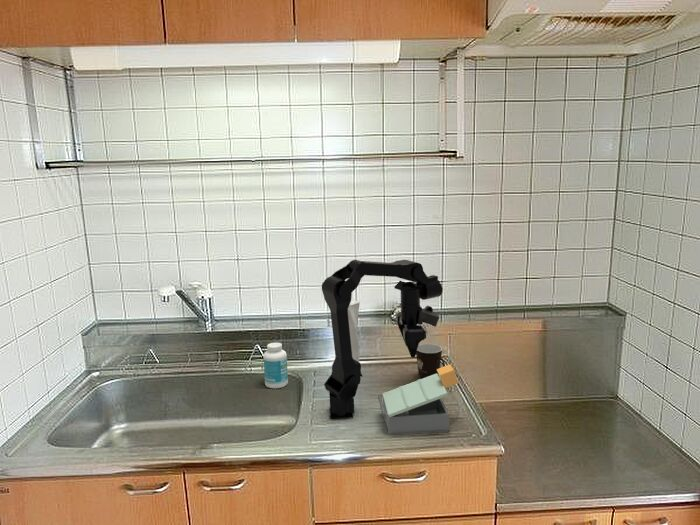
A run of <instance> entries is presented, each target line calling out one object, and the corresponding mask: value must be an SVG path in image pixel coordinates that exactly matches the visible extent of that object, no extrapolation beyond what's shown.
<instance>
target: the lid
mask: <svg viewBox="0 0 700 525" xmlns="http://www.w3.org/2000/svg"><path fill="white" fill-rule="evenodd" d="M437 372H438V374H437V373H436V374H433V375H431V376H428V377H425V378H423V379H420V378H419V379H417V380H416V381H412V382H410V383H407V384H405V385H400V386H399V387H396V388H394V389H391V390H389V391H386V392H382V396H383V397H384V401H385V405H386V409H387V413H388V416H389V417H392V416H395V415H397V414H400V413H403V412H405V411H408V410H411V409H413V408H416V407H419V406H421V405H424V404H427V403H429V402H432V401H435V400H438V399H440V398H441V399H443V398H445V397H448V396H449V394H448V391H447V388H450V387H452V386H455V385H457V384H459V381H458V378H457V375H456V372H455V370H454V368H453V366H452V365H451V364H447V365H445V366H444V367H443V366H441V367H440V368H439V369H437ZM438 375H439V376H438ZM383 397H382V398H383Z"/></svg>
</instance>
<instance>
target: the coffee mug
mask: <svg viewBox="0 0 700 525" xmlns="http://www.w3.org/2000/svg"><path fill="white" fill-rule="evenodd" d="M442 354H443V347H442V346H441V345H439V344H434V343H419V345H418V348H417V352H416V355H415V358H416V364H417V372H418V378H419V379H423V378H425V377H428V376H431V375H433V374H436V373H437V374H438V372H437V369H439V368H441V363H442V367H444V366H446V364H445V361H444V359H443V358H442ZM438 376H439V375H438Z"/></svg>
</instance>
